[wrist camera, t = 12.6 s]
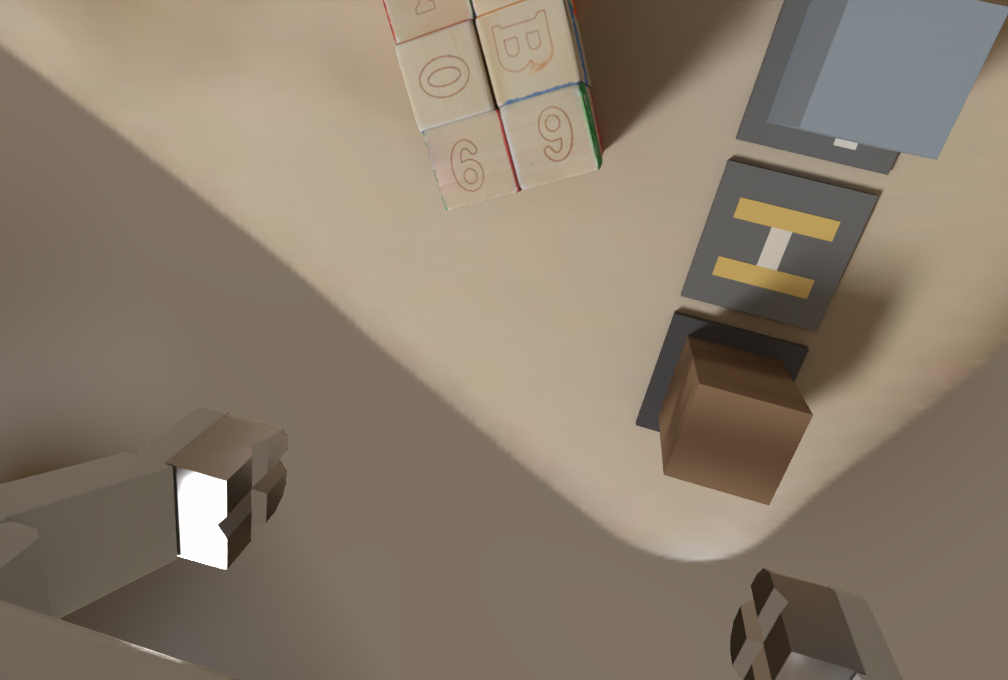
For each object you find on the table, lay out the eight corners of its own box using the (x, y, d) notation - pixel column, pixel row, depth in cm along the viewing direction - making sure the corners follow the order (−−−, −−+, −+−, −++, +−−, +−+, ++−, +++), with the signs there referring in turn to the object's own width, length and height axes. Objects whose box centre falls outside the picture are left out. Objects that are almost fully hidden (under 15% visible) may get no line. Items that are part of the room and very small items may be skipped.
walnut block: (687, 335, 32) (699, 383, 27) (781, 360, 32) (813, 414, 26) (658, 414, 34) (663, 474, 29) (746, 439, 34) (769, 505, 28)
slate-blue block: (810, 1, 26) (858, -25, 21) (929, 26, 26) (1011, 7, 20) (766, 121, 28) (799, 127, 23) (876, 147, 28) (937, 159, 22)
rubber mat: (674, 311, 32) (675, 314, 32) (806, 346, 32) (808, 349, 31) (635, 421, 35) (635, 425, 35) (756, 456, 35) (757, 459, 34)
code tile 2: (794, -29, 26) (796, -31, 26) (962, 6, 26) (966, 5, 25) (735, 138, 29) (736, 138, 29) (885, 174, 28) (888, 174, 28)
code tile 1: (727, 159, 29) (729, 160, 29) (875, 195, 29) (878, 196, 28) (680, 294, 32) (681, 295, 32) (814, 329, 31) (816, 331, 31)
